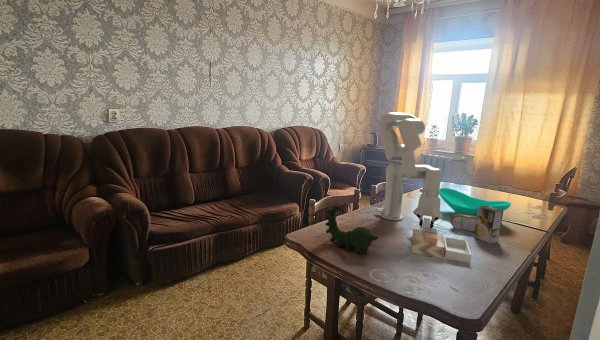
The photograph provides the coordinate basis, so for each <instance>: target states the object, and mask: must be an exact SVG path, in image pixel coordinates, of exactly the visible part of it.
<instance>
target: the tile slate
mask: <svg viewBox="0 0 600 340" xmlns="http://www.w3.org/2000/svg"><path fill="white" fill-rule="evenodd" d="M425 233H431V234H436V235H437V233H438V229H437V228H430V227H429V228H426V227H425V231H424V236H425Z"/></svg>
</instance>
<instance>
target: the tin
mask: <svg viewBox="0 0 600 340" xmlns="http://www.w3.org/2000/svg"><path fill="white" fill-rule="evenodd" d="M476 219H477V216H471V215H465V214H457V213H456V214H454V215H452V216H451V217H450V224H451V226H452V228H454V229H455V230H458V231H464V232H471V233H474V232H475V225H476Z"/></svg>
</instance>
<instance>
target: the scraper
mask: <svg viewBox="0 0 600 340" xmlns="http://www.w3.org/2000/svg"><path fill="white" fill-rule="evenodd" d="M430 222H431V217H429V216H423V224H422V228H421V229H422V231H425V227H426V228H430Z"/></svg>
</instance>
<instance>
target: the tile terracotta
mask: <svg viewBox="0 0 600 340" xmlns="http://www.w3.org/2000/svg"><path fill="white" fill-rule="evenodd" d="M437 241H438V236H437V235H436V234H431V233H425V237H424V242H427V243H433V244H437Z"/></svg>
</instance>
